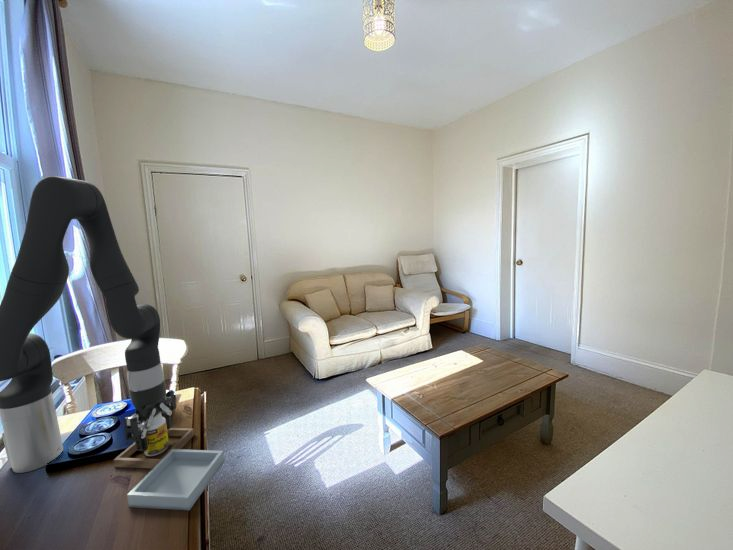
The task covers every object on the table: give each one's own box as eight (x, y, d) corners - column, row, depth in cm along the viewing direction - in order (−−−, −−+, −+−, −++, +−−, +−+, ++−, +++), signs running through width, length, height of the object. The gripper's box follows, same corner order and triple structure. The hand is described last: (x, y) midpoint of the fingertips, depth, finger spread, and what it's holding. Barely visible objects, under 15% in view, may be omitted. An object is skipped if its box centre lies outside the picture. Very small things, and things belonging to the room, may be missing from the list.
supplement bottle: (146, 460, 79) (140, 424, 78) (142, 450, 83) (137, 415, 82) (171, 449, 83) (166, 414, 81) (166, 439, 87) (161, 406, 85)
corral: (114, 466, 77) (113, 459, 77) (153, 433, 90) (152, 427, 89) (161, 468, 76) (160, 461, 76) (194, 434, 89) (193, 428, 88)
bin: (129, 507, 66) (126, 494, 65) (174, 459, 79) (172, 449, 79) (189, 510, 65) (187, 497, 64) (224, 461, 78) (223, 450, 77)
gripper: (154, 369, 87) (162, 422, 90) (108, 396, 73) (119, 458, 76) (179, 369, 87) (186, 422, 89) (137, 397, 73) (147, 459, 75)
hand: (155, 438), depth 83 cm, fingers open, 8 cm apart
